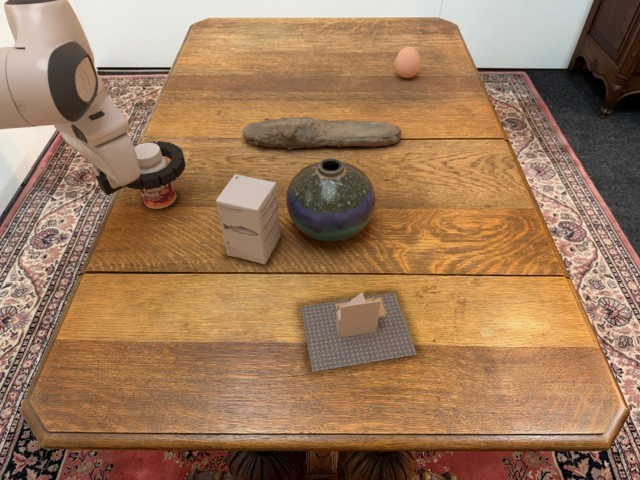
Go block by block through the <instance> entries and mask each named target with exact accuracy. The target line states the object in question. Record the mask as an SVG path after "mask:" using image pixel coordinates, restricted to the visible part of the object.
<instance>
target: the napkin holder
mask: <svg viewBox="0 0 640 480" xmlns="http://www.w3.org/2000/svg"><path fill="white" fill-rule="evenodd" d="M366 297H367V296H365V295H364V293H363V292H360V293H359V294H357V295H356V296H355V297H353V298H349V299H345V300H346V301H344V302H338V303H336V304H335V308H336V314H335V328H336V332H337V336H338V337H340V338H345V337H353V336H359V335H365V334H371V333H377V332H378V326H379V318H381V317H386V316H387V312H386V309H385V306H384V303H383V300H382V297H381V296H378V297H371V298H366Z"/></svg>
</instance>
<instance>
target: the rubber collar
mask: <svg viewBox="0 0 640 480" xmlns="http://www.w3.org/2000/svg"><path fill="white" fill-rule="evenodd" d="M142 143H143V142H141V143H140V144H142ZM145 143H155V144H157V145H158V146H159V147H160V150H161V153H162V157H163V158H164V157H165V158H168V159H169V160H170V162H169V163H167V164H168V165H167V167H165V168H163V169H161V170H159V171H157V172H153V173H147V174H140V177H139V178H138V179H137V180H135V181H133V182H131V183H129V184H127V185H125V186H119V187H117V188H115V189H114V188H112V187H111V186H110V185H109V184H108V182H107V180H106V177H107V175H106V174H105V173H102V174H100V175H96V176H95V179H96V181H97V183H98V185H99V188H100V190H101V191H102V193H104V194H105V195H106V196H110V195H112V194H115V193H116V192H118V191H120V190H122V189H124V188H127V187H128V189H131V190H139V191H140V190H143V189H144V188H145V190H149V189H154V188H160V187H161V184H162V185H163V186H165V185H167V184H169V183H171V182H173V183H174V182H175V181H177V178H178V179H179V178H180V176H182V174H183V172H184V171H185V169H186V160H185V156H184V152H183V150H182V148H181V147H179V146H178V145H176V144H175V143H173V142H169V141H163V140H157V141H156V140H153V141H152V140H151V141H147V142H145ZM137 145H139V143H137V144H135V145H133V146H134V147H135V146H137Z"/></svg>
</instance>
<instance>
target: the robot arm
mask: <svg viewBox="0 0 640 480" xmlns="http://www.w3.org/2000/svg"><path fill="white" fill-rule="evenodd" d="M3 8H4V13H5V17H6V19H7V23H8V26H9V30H10V33H11V35H12V37H13V41H14V44H13V46H5V47H0V130H10V129H24V128H35V127H45V126H53V127H54V129H55V130H56V131H59V134H60V135H61V137H62V139H63V140H64V141H65V142H66V143H67V144H68V145H69V146H71V147H72V148H73V149H75V151H77V152H78V153H79V154H80V155H82V156H83V158H85V159H86V160H88V162H89V164H90V165H91V166H92V168H93V169H94V170H95V173H96V176H98V175H100V174H102V173H105V174H106V175H107V177H106V180H107V182H108V184H109V185H110V186H111V187H112V188H114V189H115V188H117V187H119V186H125V185H127V184H129V183H131V182H133V181H135V180H137V179H138V178H139V177H140V174H141V171H140V166H139V162H138V159H137V155H136V152H135V149H134V146H135V145H134V144H133V142H132V139H131V137H130V135H129V133H127V132H129V131H130V130H131V126H130V123H129V121H128V119H127V118H126V117H125V115H124V114H123V113H122V112H121V110H120V109H119V108H118V107H117V106H116V105H115V103H114V102H113V100H112V98H111V96H110V95H109V94H108V91H107V89H106V85H105V83H104V80H103V79H102V77H101V76H100V75H99V73H98V72H97V69H96V66H95V57H94V56H95V55H94V53H93V50H92V47H91V45H90V42H89V40H88V37H87V34H86V32H85V30H84V28H83V26H82V23H81V22H80V20H79V18H78V15H77V13H76V11H75V10H74V8H73V7H72V5H71V3H70V2H69V0H6V1H5V2H4V4H3Z"/></svg>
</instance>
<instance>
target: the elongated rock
mask: <svg viewBox="0 0 640 480" xmlns="http://www.w3.org/2000/svg"><path fill="white" fill-rule="evenodd" d="M241 135H242V136H241V137H242V138H243V139H244V140H245V141H247V142H248V143H249V144H251V145H252V144H253V145H255V146H262V147H267V148H268V147H270V148H285V149H286V150H289V151H290V150H293V149H297V150H298V149H300V148H319V147H325V146H328V147H337V148H342V147H364V148H365V147H371V148H372V147H373V148H377V147H381V146H384V147H386V146H389V145H394V144H397V143H398V142H399V141H400V140H401V138H402V137H401V136H402V129H401V128H400V126H398V125H397V124H392V123H389V122H386V121H383V120H358V119H357V120H355V119H354V120H351V119H350V120H348V119H345V120H336V119H335V120H331V119H330V120H328V119H324V118H323V119H320V118H314V117H309V116H300V117H297V116H296V117H281V118H278V119H266V120H259V121H256V122H255V121H254V122H250V123H248V124H247V123H246V125H244V126H243V128H242V134H241Z"/></svg>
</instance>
